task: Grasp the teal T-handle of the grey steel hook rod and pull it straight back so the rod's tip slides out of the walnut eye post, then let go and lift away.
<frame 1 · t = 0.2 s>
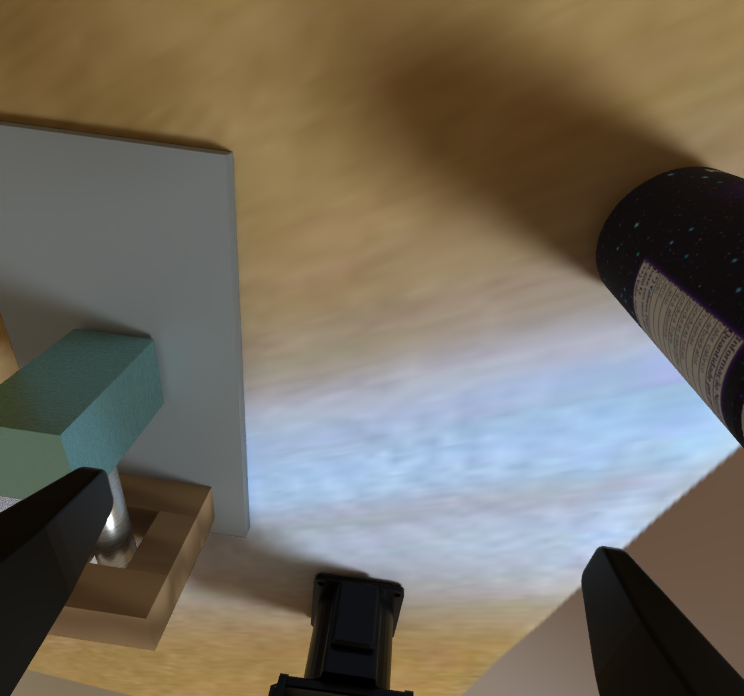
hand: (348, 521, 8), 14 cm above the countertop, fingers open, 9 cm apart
beverage can: (659, 233, 19), on the countertop
eye post: (157, 484, 30), resting on base board
base board: (135, 371, 25), on the countertop
hook rod: (106, 505, 24), point 5 cm above the countertop, slide at 0.0 cm
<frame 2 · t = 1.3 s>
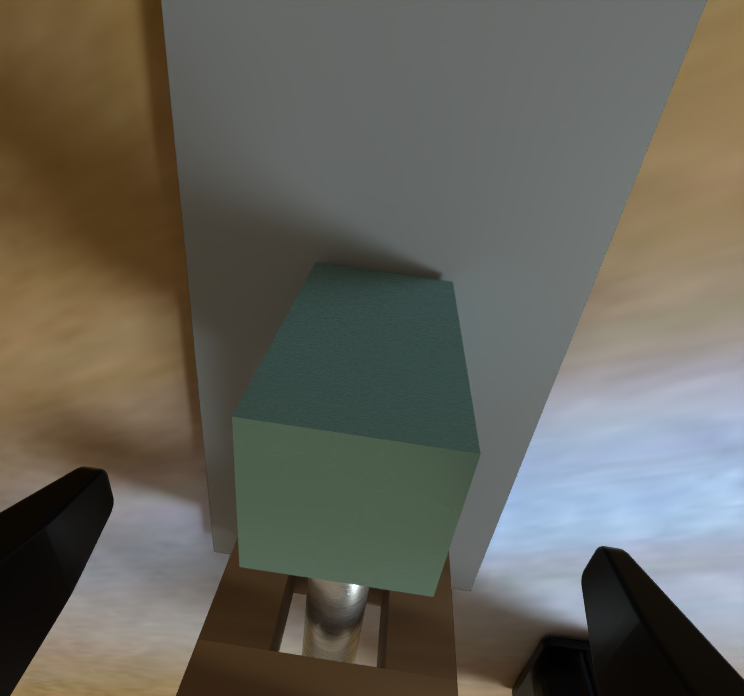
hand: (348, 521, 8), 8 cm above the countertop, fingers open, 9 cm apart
eye post: (350, 514, 21), resting on base board
base board: (374, 341, 16), on the countertop
hook rod: (341, 560, 15), point 5 cm above the countertop, slide at 0.0 cm
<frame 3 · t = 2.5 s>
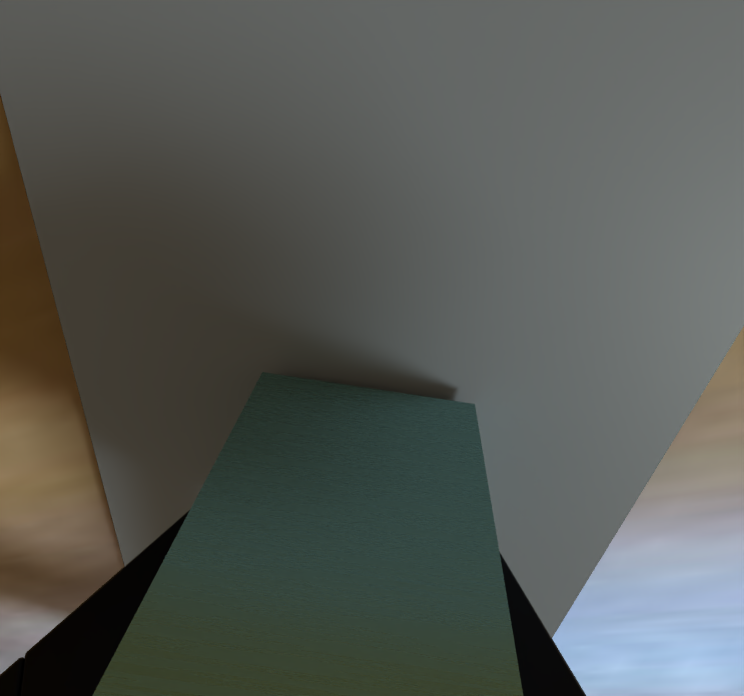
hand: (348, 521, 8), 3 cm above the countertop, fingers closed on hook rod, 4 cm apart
base board: (358, 461, 11), on the countertop
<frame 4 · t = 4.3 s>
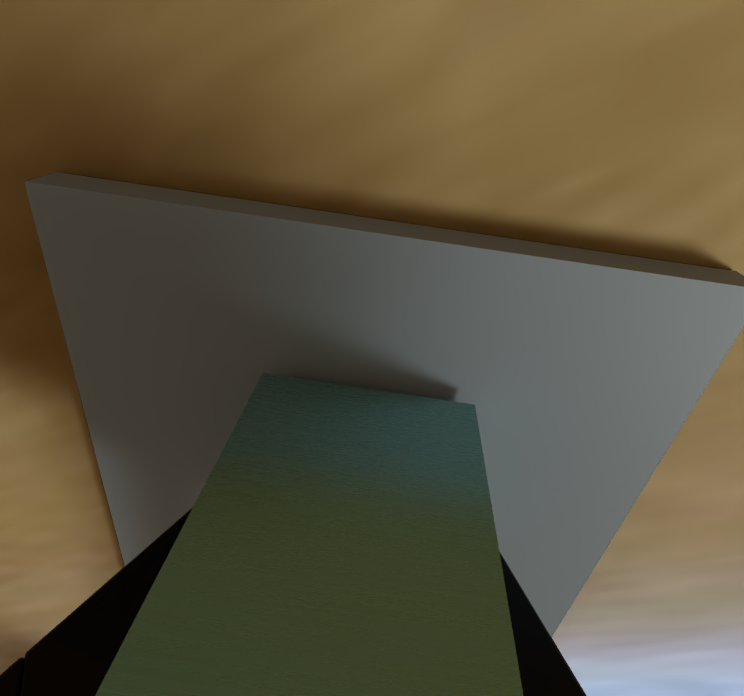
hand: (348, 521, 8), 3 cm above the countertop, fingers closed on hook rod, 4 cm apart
base board: (337, 604, 14), on the countertop
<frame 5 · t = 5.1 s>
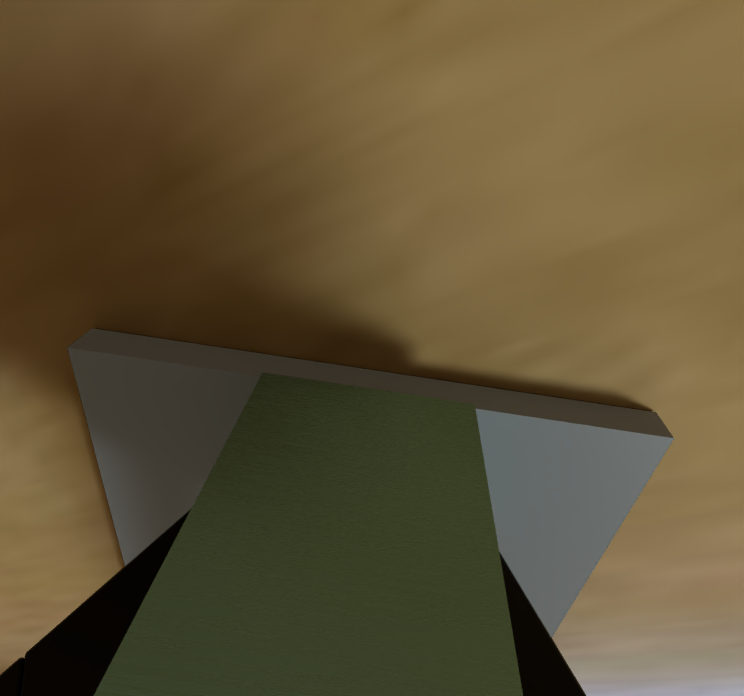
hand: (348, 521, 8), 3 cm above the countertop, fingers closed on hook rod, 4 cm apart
base board: (330, 655, 16), on the countertop
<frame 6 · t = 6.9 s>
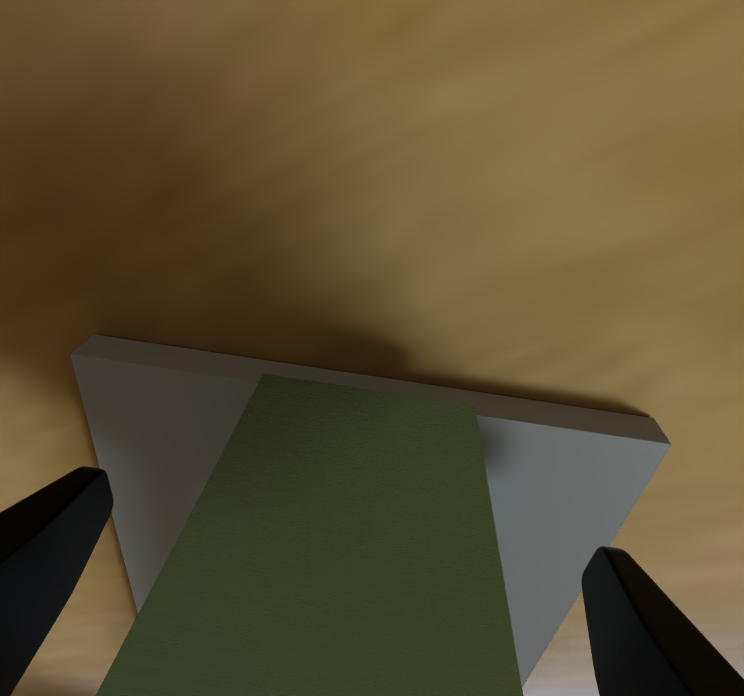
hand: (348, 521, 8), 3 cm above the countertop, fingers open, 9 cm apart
base board: (330, 658, 16), on the countertop
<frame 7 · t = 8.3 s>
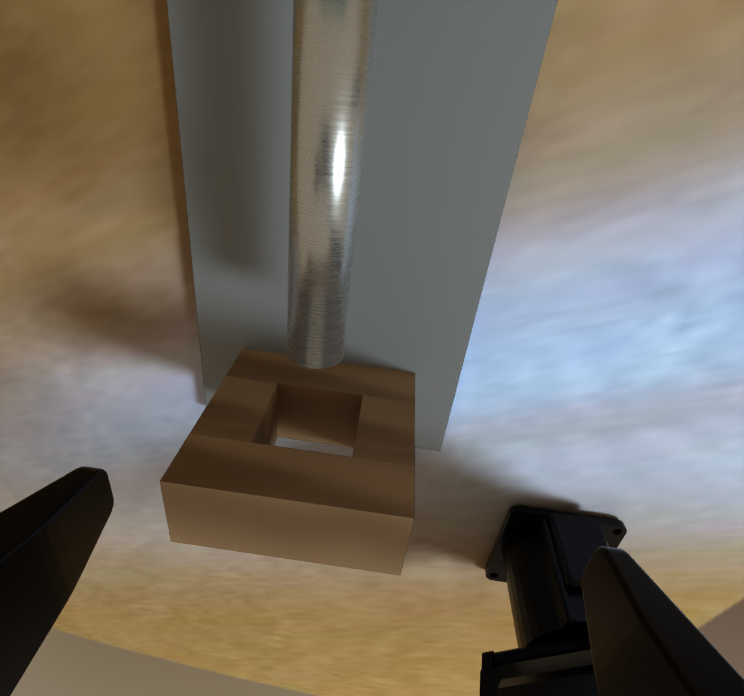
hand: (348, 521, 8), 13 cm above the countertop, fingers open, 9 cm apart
eye post: (329, 377, 23), resting on base board
base board: (344, 189, 18), on the countertop
hook rod: (333, 72, 12), point 5 cm above the countertop, slide at 9.4 cm
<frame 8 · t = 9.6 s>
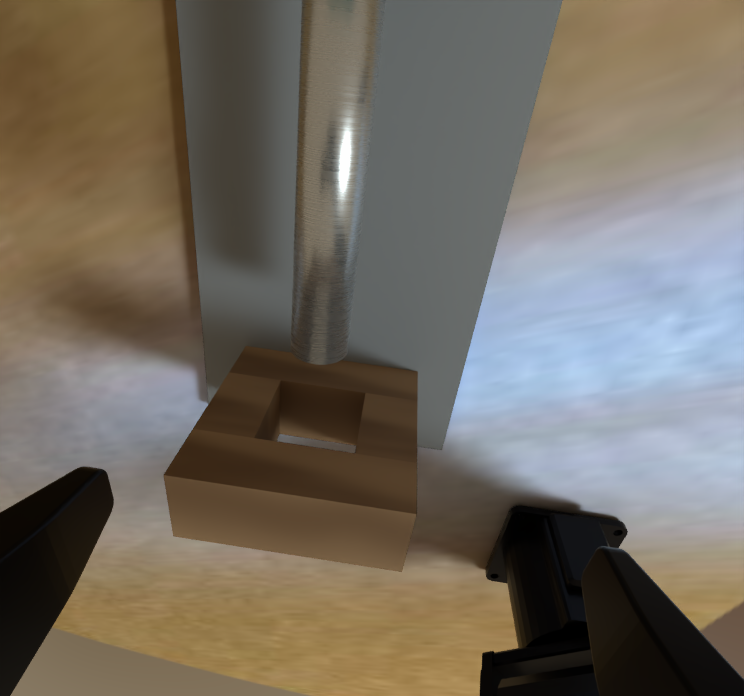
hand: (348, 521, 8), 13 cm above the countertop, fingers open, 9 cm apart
eye post: (331, 375, 23), resting on base board
base board: (349, 187, 18), on the countertop
hook rod: (340, 69, 12), point 5 cm above the countertop, slide at 9.4 cm
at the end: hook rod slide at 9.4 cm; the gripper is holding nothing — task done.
